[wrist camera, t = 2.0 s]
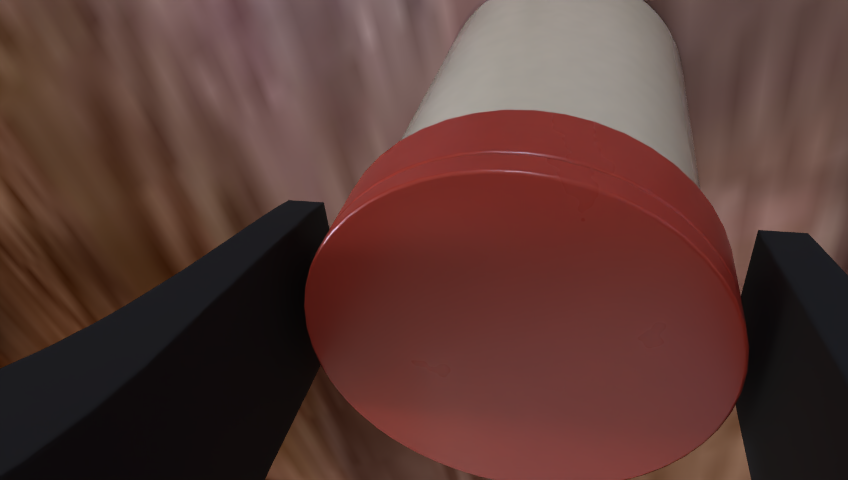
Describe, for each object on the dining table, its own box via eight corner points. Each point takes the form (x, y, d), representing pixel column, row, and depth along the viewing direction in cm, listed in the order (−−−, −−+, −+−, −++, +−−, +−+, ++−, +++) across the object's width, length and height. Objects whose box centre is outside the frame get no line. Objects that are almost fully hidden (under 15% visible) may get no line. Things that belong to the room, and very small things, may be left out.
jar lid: (796, 126, 8) (827, 200, 6) (692, 437, 11) (699, 520, 10) (315, 91, 9) (269, 148, 8) (358, 381, 12) (330, 449, 11)
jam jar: (707, -23, 13) (772, 191, 7) (659, 200, 16) (676, 476, 10) (443, -31, 14) (309, 149, 8) (447, 180, 17) (353, 418, 11)
